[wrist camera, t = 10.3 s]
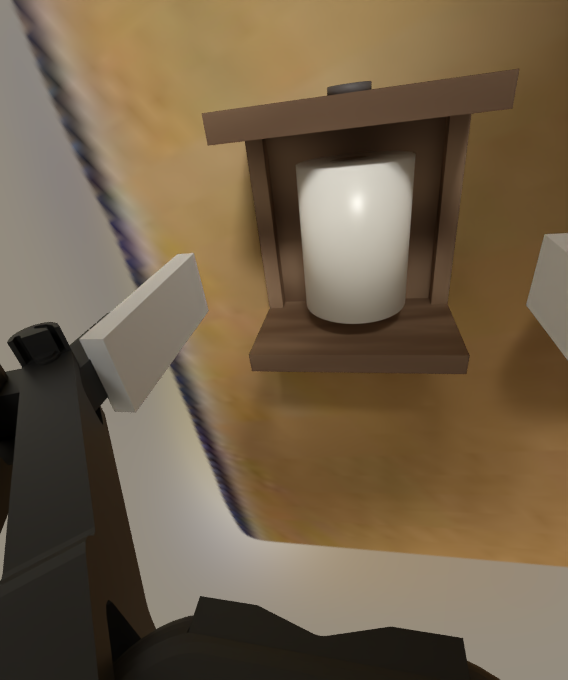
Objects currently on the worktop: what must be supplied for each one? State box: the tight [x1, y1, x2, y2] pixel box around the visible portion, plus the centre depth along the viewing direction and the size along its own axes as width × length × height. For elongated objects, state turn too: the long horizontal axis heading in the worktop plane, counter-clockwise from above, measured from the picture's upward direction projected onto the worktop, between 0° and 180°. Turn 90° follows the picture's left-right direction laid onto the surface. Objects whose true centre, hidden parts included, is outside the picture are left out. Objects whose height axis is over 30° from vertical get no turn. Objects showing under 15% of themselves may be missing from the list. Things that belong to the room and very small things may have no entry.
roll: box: [296, 151, 416, 324], centre depth 21 cm, size 8×6×6 cm
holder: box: [202, 69, 519, 374], centre depth 21 cm, size 14×12×8 cm
